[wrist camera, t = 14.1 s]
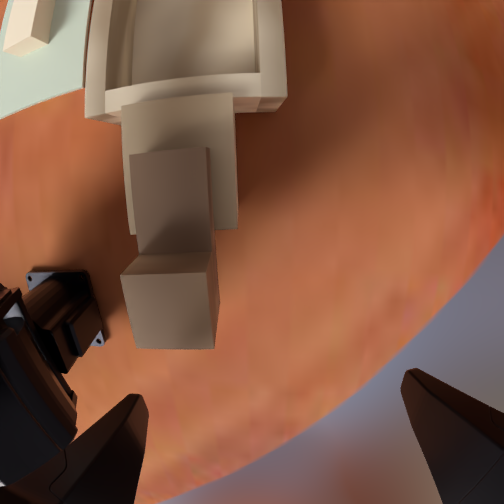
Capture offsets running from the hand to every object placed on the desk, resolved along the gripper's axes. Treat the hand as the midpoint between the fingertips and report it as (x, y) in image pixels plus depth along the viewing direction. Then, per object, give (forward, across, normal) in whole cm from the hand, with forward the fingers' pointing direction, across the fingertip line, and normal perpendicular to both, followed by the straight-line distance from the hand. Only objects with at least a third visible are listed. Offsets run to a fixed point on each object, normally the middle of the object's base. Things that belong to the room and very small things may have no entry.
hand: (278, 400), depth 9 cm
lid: (+13, +16, -21) cm, 29 cm away
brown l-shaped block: (+6, +3, -4) cm, 8 cm away
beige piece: (+12, +3, -14) cm, 19 cm away
